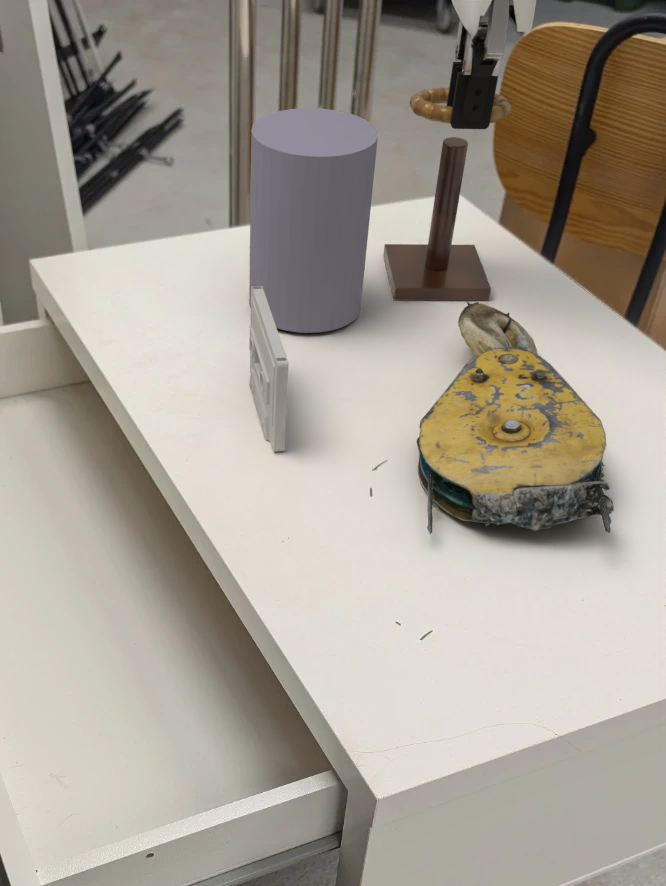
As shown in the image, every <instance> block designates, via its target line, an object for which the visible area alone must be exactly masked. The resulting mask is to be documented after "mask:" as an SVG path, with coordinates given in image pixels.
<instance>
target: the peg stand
mask: <svg viewBox="0 0 666 886" xmlns="http://www.w3.org/2000/svg"><path fill="white" fill-rule="evenodd" d="M468 147H469V141H468V140H467V139H464V138H461V137H458V136H457V137H456V136H455V137H454V136H451V137H446V138H444V139H443V140H442V146H441V152H440V158H439V159H440V160H439V166H438V171H437V172H438V173H437V179H436V186H435V194H434V199H433V205H432V213H431V214H432V215H431V221H430V226H429V234H428V241H427V244H423V243H422V244H419V243H418V244H416V243H415V244H414V243H413V244H411V243H410V244H409V243H408V244H407V243H403V244H402V243H385V244H384V245H383V255H382V257H383V261H384V264H385V269H386V273H387V277H388V281H389V285H390V288H391V292H392V296H393V300H394V301H489V300H490V296H491V292H492V287H491V284H490V282H489V279H488V276H487V274H486V271H485V269H484V266H483V264H482V260H481V258H480V256H479V253H478V250H477V247H476V244H453V237H454V232H455V226H456V220H457V213H458V207H459V202H460V196H461V190H462V189H461V188H462V183H463V177H464V170H465V165H466V158H467V153H468Z"/></svg>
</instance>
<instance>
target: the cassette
mask: <svg viewBox="0 0 666 886" xmlns="http://www.w3.org/2000/svg"><path fill="white" fill-rule="evenodd" d="M248 341H249V343H248V344H249V345H248V347H249V349H248V350H249V383H248V385H249V389H250V392H251V396H252V399H253V403H254V405H255V409H256V413H257V416H258V420H259V423H260V427H261V429H262V430H261V431H262V433H263V437H264V440H265V441H269V442H270V445H271V448H272V452H273V453H275V452H285V451H286V432H287V431H286V430H287V429H286V427H287V408H288V407H287V406H288V388H289V386H288V385H289V360H288V357H287V354H286V352H285V348H284V346H283V343H282V340H281V337H280V334H279V331H278V329H277V328H276V325H275V322H274V319H273V316H272V313H271V310H270V307H269V305H268V302H267V299H266V296H265V293H264V290H263V287H262V286H254V287H251V309H250V324H249V340H248Z"/></svg>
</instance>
